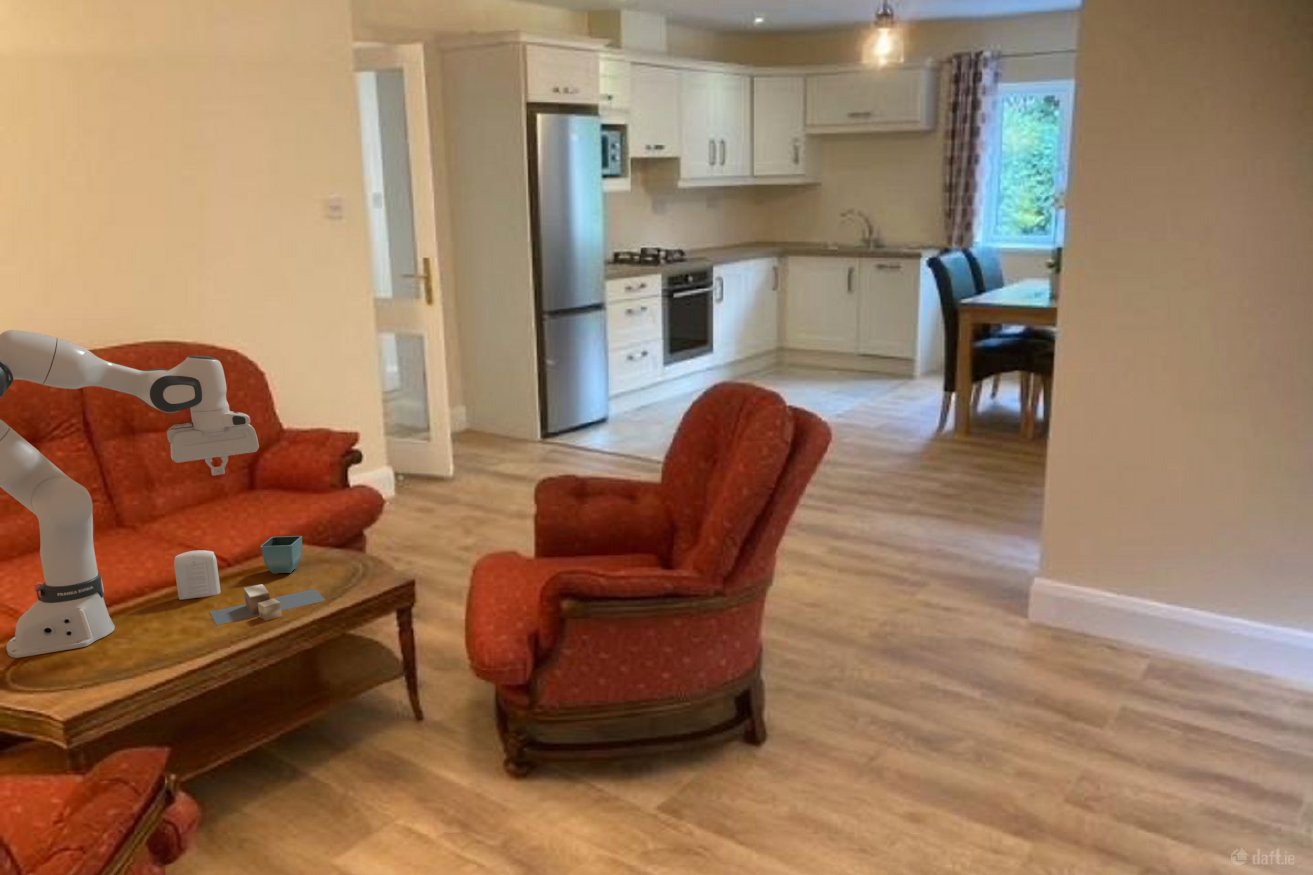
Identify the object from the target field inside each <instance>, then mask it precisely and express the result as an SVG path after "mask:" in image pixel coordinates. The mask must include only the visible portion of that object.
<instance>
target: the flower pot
mask: <svg viewBox="0 0 1313 875" xmlns="http://www.w3.org/2000/svg"><path fill="white" fill-rule="evenodd" d="M259 548H260V550H261V554H262V557H263V558H262V559H263V561H264V564H265V566H266V567H267V569H268V570H269V572H271V573H272V574H273V573H290V574H291V572H292V571H293V570H294V569H295V570H296V569H297V568H298V566H299V564H300V562H301V559H302V555H303V554H302V553H303V536H302V535H295V536H294V535H291V536H286V535H285V536H271V537H270V538H268V539H267V541H265V542H264V543H262V544H261V545H260V546H259ZM295 570H294V571H295ZM294 571H293V572H294ZM293 572H292V573H293Z"/></svg>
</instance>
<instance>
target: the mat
mask: <svg viewBox="0 0 1313 875" xmlns="http://www.w3.org/2000/svg"><path fill="white" fill-rule="evenodd" d="M270 599H275V600H277V601H279V602H280V605H281V612H282V611H286V610H291V609H295V608H299V607H305V606H308V605H313V604H314V605H315V604H317V603H318V604H319V603H321V602H326V601H327V600H326V599H325V598H324V597H323V595H321V593H319V591H318V590H317V589H316V588H313V589H308V590H303V591H298V592H295V593H290V594H287V595H281V596H277V597H272V598H271V597H270ZM209 615H210V616H211V618H212V620H213V621H214V624H215V626H219V625H224V624H228V623H233V622H238V621H242V620H248V619H252V618H255V617H260V616H259V614H255V615H252V614H251V612H250V611H249V609H248V608H247V606H246V603H243V604H240V605H235V606H231V607H225V608H221V609H217V610H212V611H209Z"/></svg>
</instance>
